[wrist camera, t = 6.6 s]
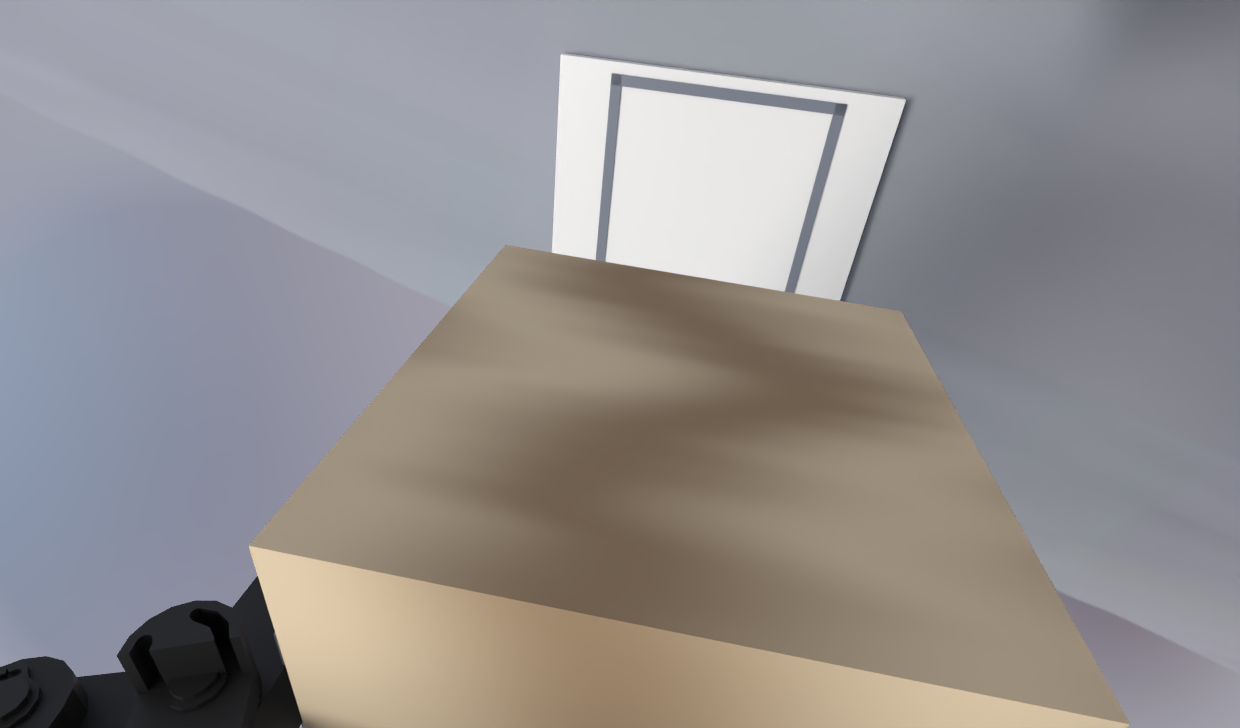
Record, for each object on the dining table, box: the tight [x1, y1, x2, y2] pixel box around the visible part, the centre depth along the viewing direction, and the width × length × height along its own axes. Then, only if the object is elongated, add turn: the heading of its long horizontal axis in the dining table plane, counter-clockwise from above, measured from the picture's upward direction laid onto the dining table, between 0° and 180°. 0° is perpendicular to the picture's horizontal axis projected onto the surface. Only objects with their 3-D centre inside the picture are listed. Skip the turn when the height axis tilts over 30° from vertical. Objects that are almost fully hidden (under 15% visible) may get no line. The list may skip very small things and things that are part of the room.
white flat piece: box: [552, 53, 906, 301], centre depth 32 cm, size 16×12×1 cm
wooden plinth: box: [249, 245, 1130, 728], centre depth 11 cm, size 8×8×8 cm
